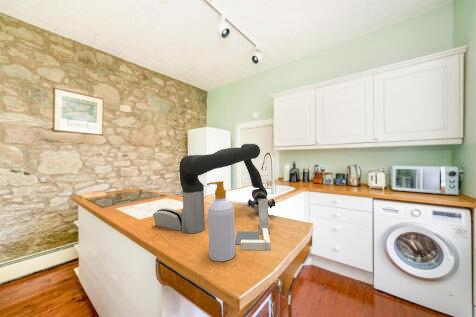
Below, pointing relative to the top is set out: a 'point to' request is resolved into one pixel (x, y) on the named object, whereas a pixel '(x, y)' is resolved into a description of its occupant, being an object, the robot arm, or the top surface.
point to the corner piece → (257, 242)
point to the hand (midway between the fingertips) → (262, 206)
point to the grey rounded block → (168, 218)
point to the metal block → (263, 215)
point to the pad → (246, 236)
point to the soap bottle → (221, 226)
